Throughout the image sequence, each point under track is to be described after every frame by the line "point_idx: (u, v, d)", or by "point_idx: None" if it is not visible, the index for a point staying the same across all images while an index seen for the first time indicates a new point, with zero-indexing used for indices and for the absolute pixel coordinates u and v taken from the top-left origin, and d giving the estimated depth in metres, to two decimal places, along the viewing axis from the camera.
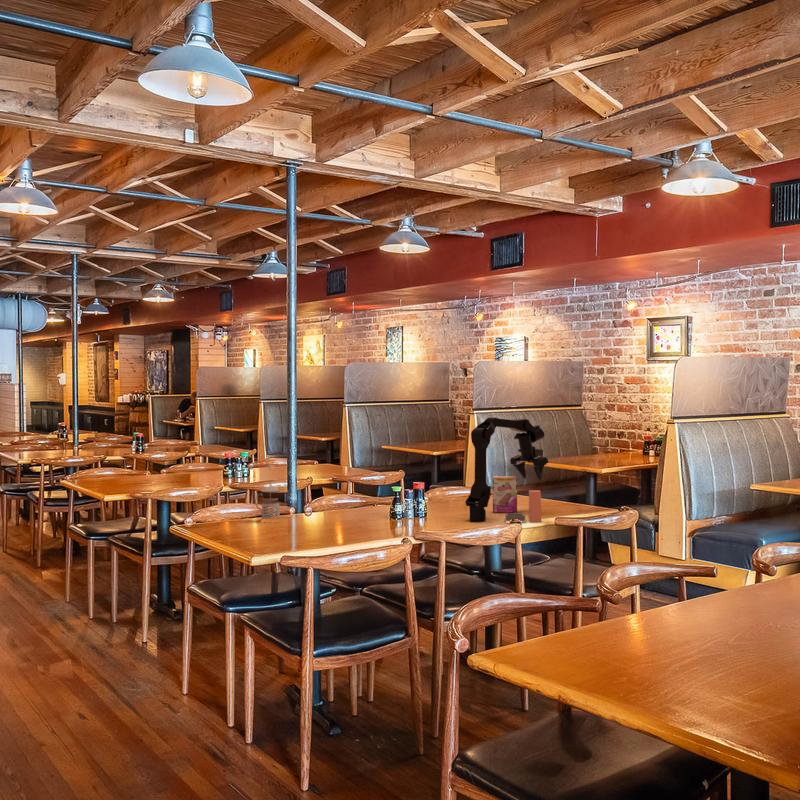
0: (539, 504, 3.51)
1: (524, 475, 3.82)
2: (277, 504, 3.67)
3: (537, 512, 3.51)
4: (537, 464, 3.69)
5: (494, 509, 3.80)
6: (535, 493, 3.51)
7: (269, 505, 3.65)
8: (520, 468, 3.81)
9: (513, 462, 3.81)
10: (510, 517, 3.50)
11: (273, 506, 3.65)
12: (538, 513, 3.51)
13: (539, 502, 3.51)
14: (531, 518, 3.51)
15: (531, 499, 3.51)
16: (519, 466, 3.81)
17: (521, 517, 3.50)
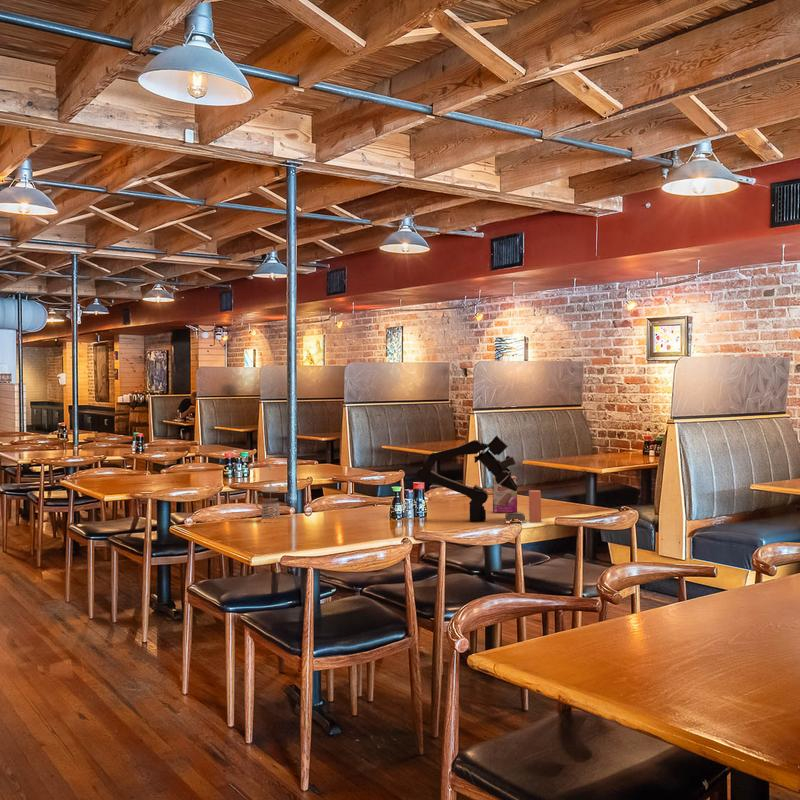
0: (539, 504, 3.51)
1: (514, 486, 3.60)
2: (277, 504, 3.67)
3: (537, 512, 3.51)
4: (497, 482, 3.49)
5: (494, 509, 3.80)
6: (535, 493, 3.51)
7: (269, 505, 3.65)
8: None
9: None
10: (510, 517, 3.50)
11: (273, 506, 3.65)
12: (538, 513, 3.51)
13: (539, 502, 3.51)
14: (531, 518, 3.51)
15: (531, 499, 3.51)
16: None
17: (521, 517, 3.50)
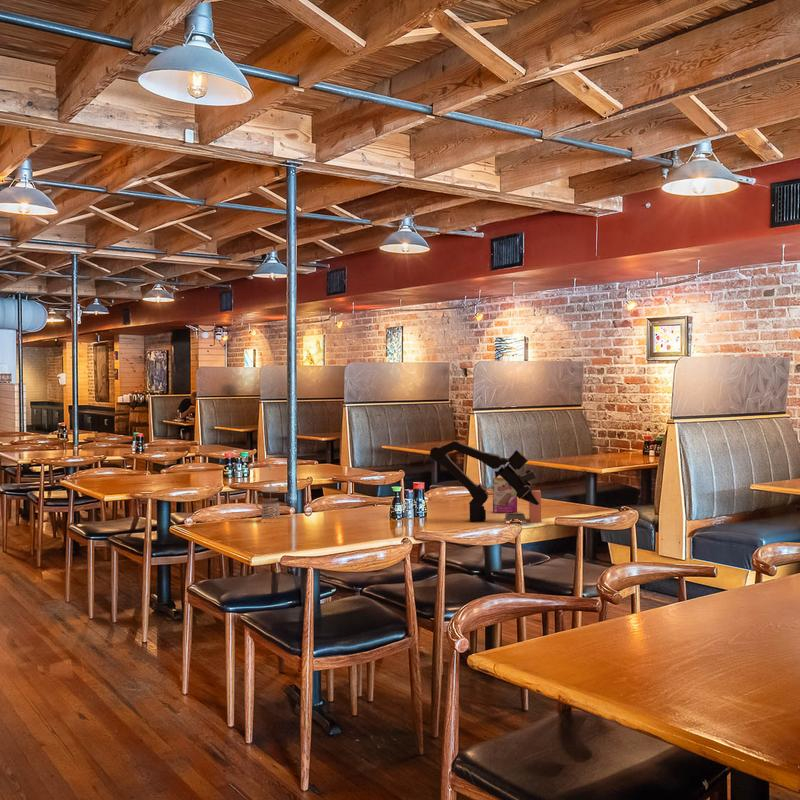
0: (539, 504, 3.51)
1: None
2: (277, 504, 3.67)
3: (537, 512, 3.51)
4: (518, 497, 3.47)
5: (494, 509, 3.80)
6: (535, 493, 3.51)
7: (269, 505, 3.65)
8: None
9: None
10: (510, 517, 3.50)
11: (273, 506, 3.65)
12: (538, 513, 3.51)
13: (539, 502, 3.51)
14: (531, 518, 3.51)
15: None
16: None
17: (521, 517, 3.50)
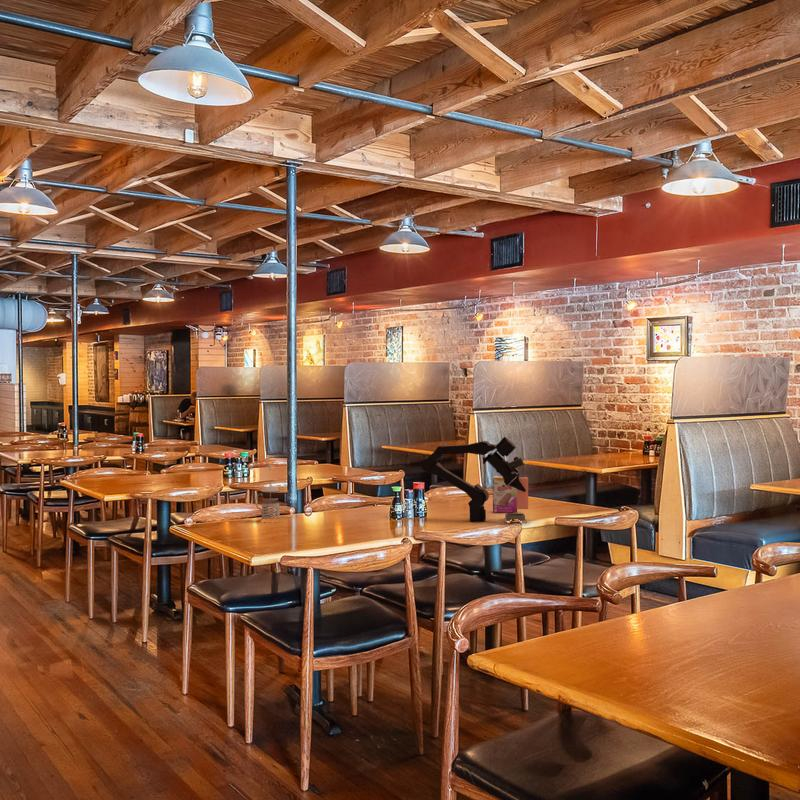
0: (526, 491, 3.51)
1: None
2: (277, 504, 3.67)
3: (524, 499, 3.51)
4: (505, 483, 3.47)
5: (494, 509, 3.80)
6: (522, 480, 3.51)
7: (269, 505, 3.65)
8: None
9: None
10: (510, 517, 3.50)
11: (273, 506, 3.65)
12: (525, 499, 3.51)
13: (526, 489, 3.51)
14: (518, 505, 3.52)
15: None
16: None
17: (521, 517, 3.50)
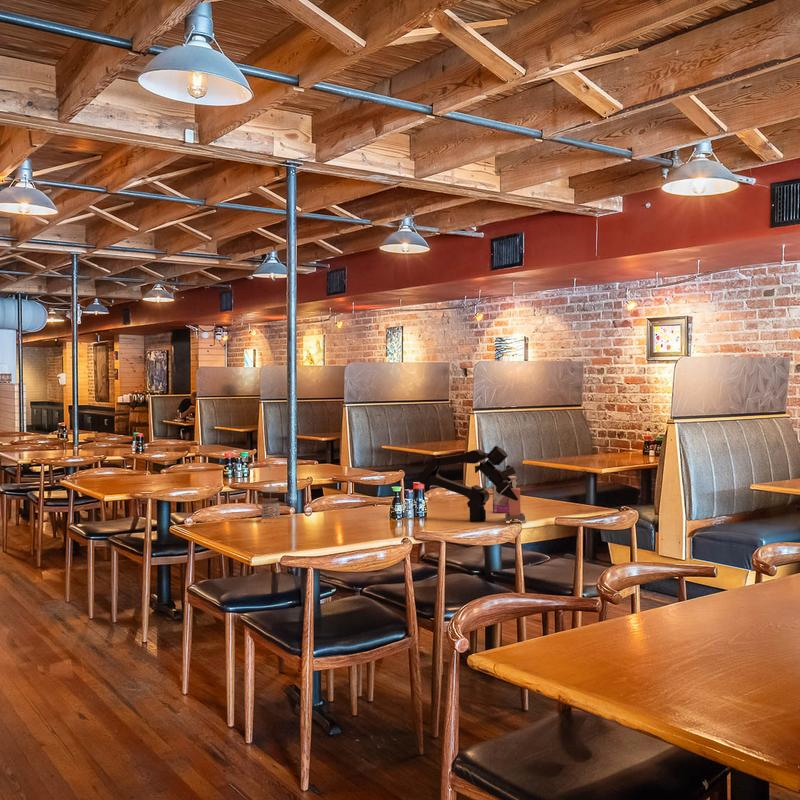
0: (518, 502, 3.51)
1: None
2: (277, 504, 3.67)
3: (516, 510, 3.52)
4: None
5: (494, 509, 3.80)
6: (514, 491, 3.51)
7: (269, 505, 3.65)
8: None
9: None
10: (510, 517, 3.50)
11: (273, 506, 3.65)
12: (517, 511, 3.51)
13: (518, 500, 3.51)
14: None
15: None
16: None
17: (521, 517, 3.50)
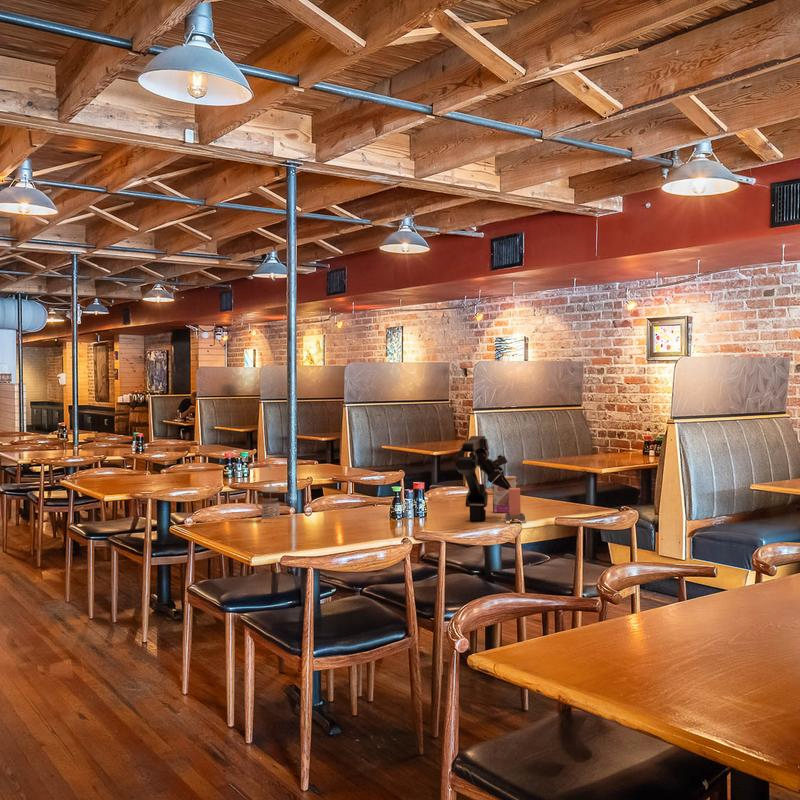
0: (518, 502, 3.51)
1: (507, 485, 3.66)
2: (277, 504, 3.67)
3: (516, 510, 3.52)
4: (489, 481, 3.55)
5: (494, 509, 3.80)
6: (514, 491, 3.51)
7: (269, 505, 3.65)
8: None
9: None
10: (510, 517, 3.50)
11: (273, 506, 3.65)
12: (517, 511, 3.51)
13: (518, 500, 3.51)
14: None
15: (510, 497, 3.52)
16: None
17: (521, 517, 3.50)
